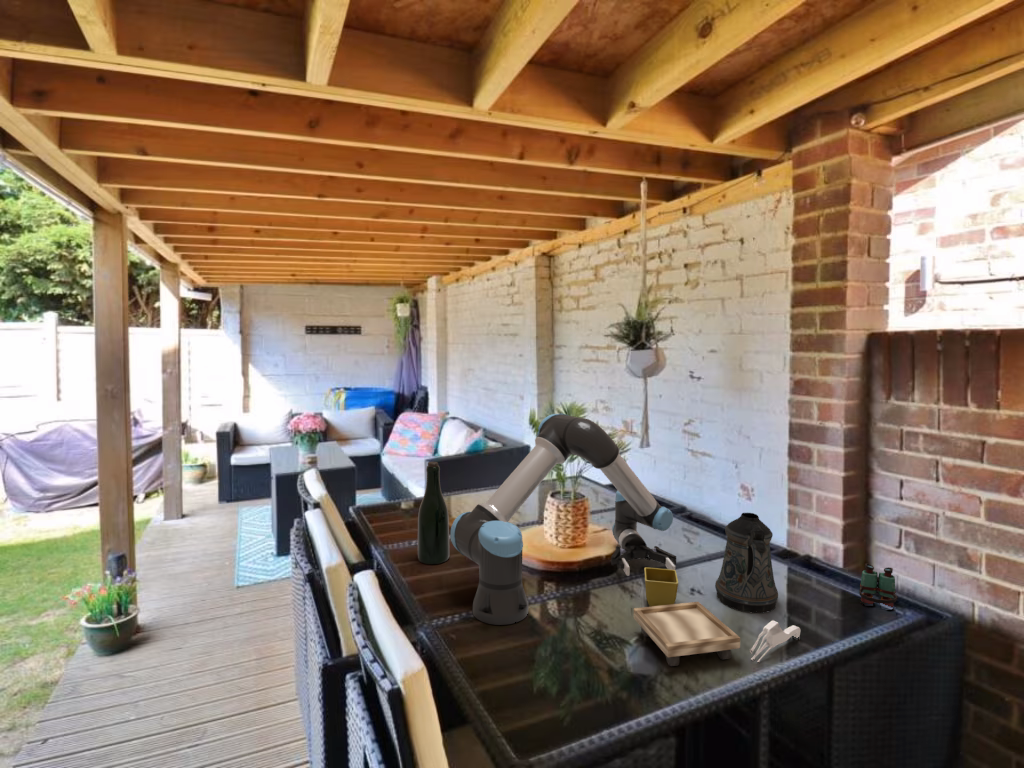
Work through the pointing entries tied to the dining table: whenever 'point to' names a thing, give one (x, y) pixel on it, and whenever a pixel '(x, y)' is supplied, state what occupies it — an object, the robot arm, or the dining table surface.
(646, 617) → the plant caddy
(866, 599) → the binoculars
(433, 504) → the dark green wine bottle
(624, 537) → the robot arm
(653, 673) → the dining table surface
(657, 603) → the flower pot
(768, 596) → the beer stein
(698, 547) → the dining table surface
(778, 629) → the llama figurine
